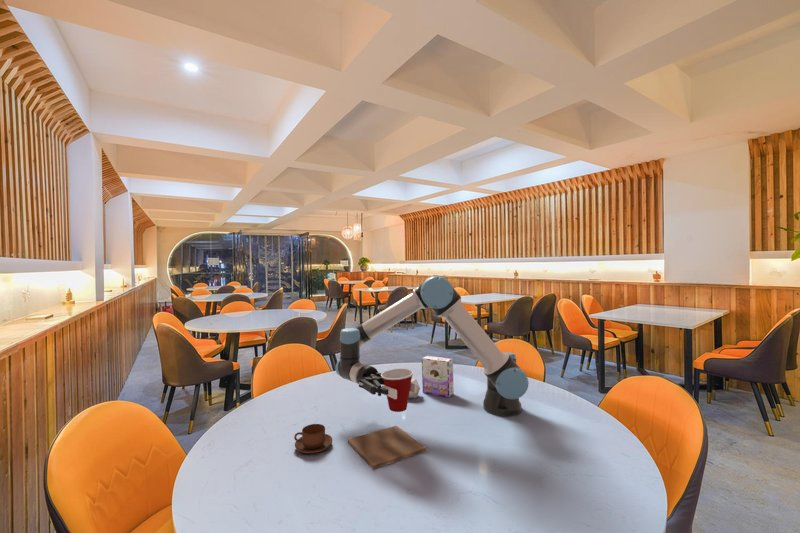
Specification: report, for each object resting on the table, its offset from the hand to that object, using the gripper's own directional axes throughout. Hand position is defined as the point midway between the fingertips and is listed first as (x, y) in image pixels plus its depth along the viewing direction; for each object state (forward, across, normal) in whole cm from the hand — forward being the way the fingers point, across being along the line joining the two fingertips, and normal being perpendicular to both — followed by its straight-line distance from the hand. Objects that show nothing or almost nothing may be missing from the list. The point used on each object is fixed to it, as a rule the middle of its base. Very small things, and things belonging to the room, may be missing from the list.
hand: (406, 391), depth 112 cm
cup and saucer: (-23, +20, -20) cm, 37 cm away
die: (-34, -34, -20) cm, 52 cm away
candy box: (-29, -46, -20) cm, 58 cm away
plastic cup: (-5, 0, -7) cm, 9 cm away
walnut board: (-7, +2, -19) cm, 21 cm away
